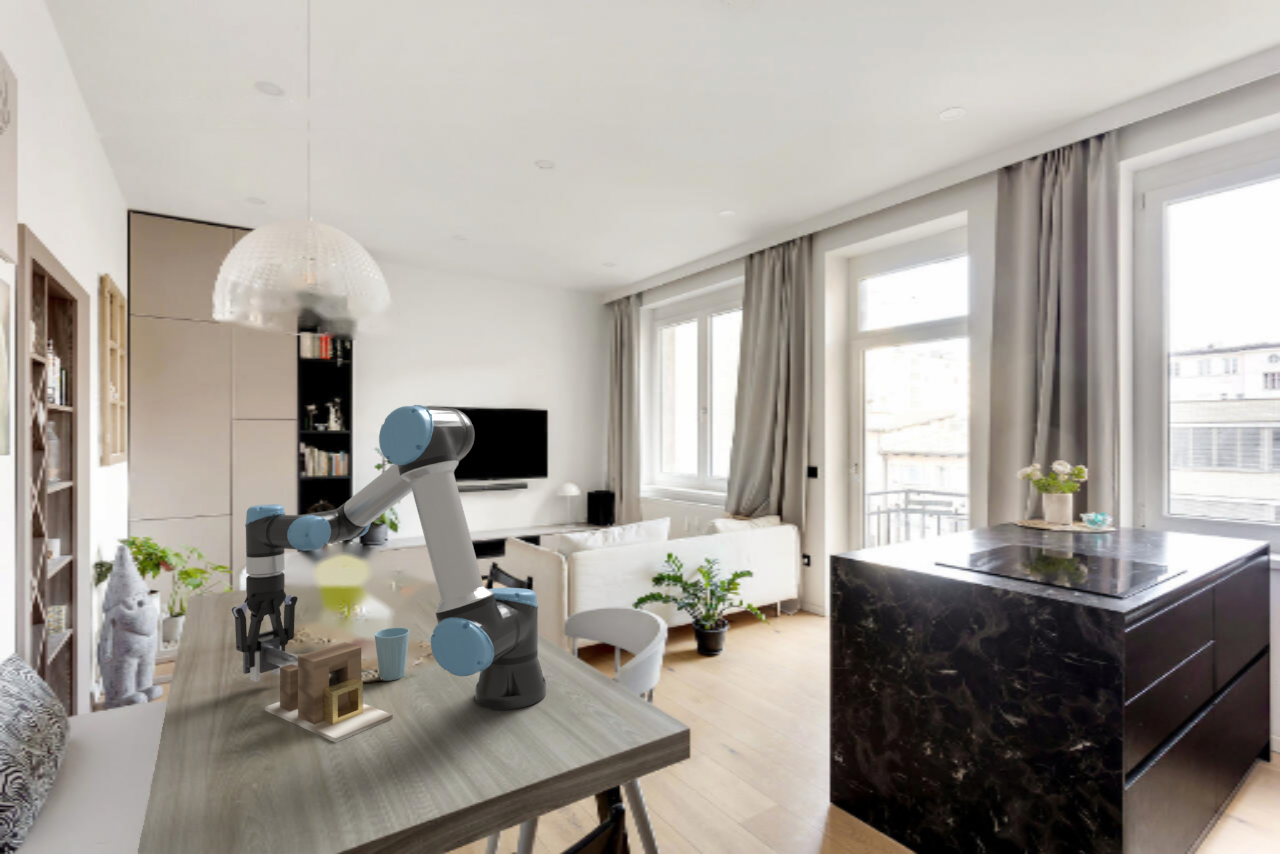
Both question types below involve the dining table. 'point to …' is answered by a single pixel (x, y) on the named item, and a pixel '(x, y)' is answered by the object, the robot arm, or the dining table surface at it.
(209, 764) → the dining table surface
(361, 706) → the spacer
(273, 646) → the shaft
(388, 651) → the cup
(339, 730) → the wooden assembly fixture
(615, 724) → the dining table surface
